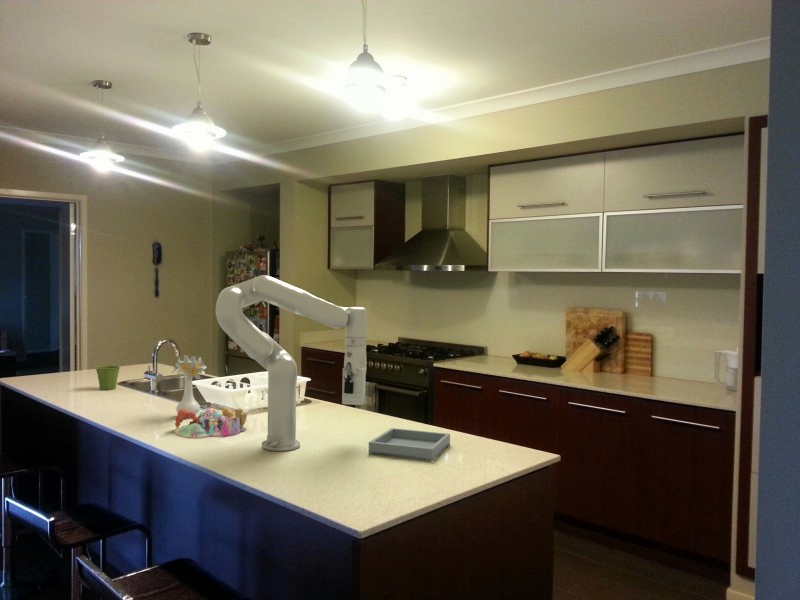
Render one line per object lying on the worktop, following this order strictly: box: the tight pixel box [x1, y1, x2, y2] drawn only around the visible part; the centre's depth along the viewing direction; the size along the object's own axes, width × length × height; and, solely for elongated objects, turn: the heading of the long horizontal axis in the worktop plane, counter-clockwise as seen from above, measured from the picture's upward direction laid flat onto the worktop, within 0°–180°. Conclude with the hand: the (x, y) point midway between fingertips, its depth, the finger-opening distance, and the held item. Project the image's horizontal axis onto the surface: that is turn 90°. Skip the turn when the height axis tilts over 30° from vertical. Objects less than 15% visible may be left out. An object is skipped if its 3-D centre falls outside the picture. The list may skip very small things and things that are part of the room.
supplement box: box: [341, 367, 367, 406], centre depth 221 cm, size 7×7×13 cm
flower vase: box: [171, 354, 207, 419], centre depth 258 cm, size 13×18×25 cm
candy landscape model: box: [173, 406, 248, 439], centre depth 235 cm, size 25×24×9 cm
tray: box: [368, 427, 451, 462], centre depth 214 cm, size 22×22×4 cm
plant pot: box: [94, 365, 121, 391], centre depth 318 cm, size 12×12×11 cm
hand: (353, 391), depth 221 cm, fingers closed on supplement box, 8 cm apart
